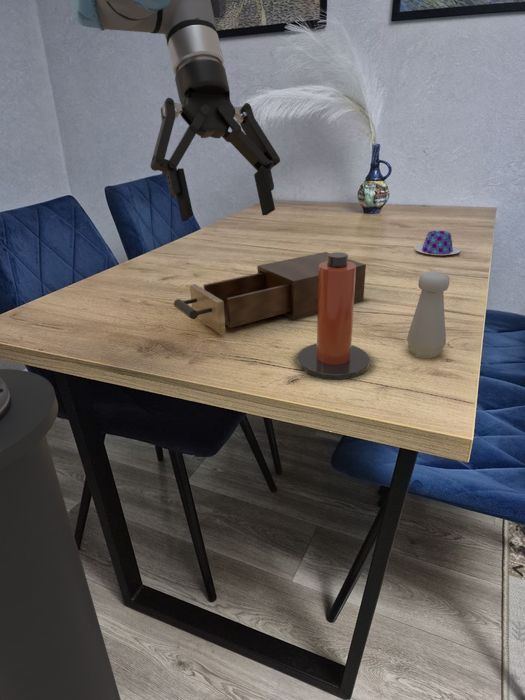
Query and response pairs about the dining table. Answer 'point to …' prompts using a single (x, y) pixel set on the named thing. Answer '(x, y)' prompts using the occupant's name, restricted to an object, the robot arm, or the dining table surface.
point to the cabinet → (308, 281)
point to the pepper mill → (335, 309)
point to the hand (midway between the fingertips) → (230, 215)
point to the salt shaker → (429, 316)
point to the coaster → (348, 370)
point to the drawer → (237, 301)
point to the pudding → (438, 244)
